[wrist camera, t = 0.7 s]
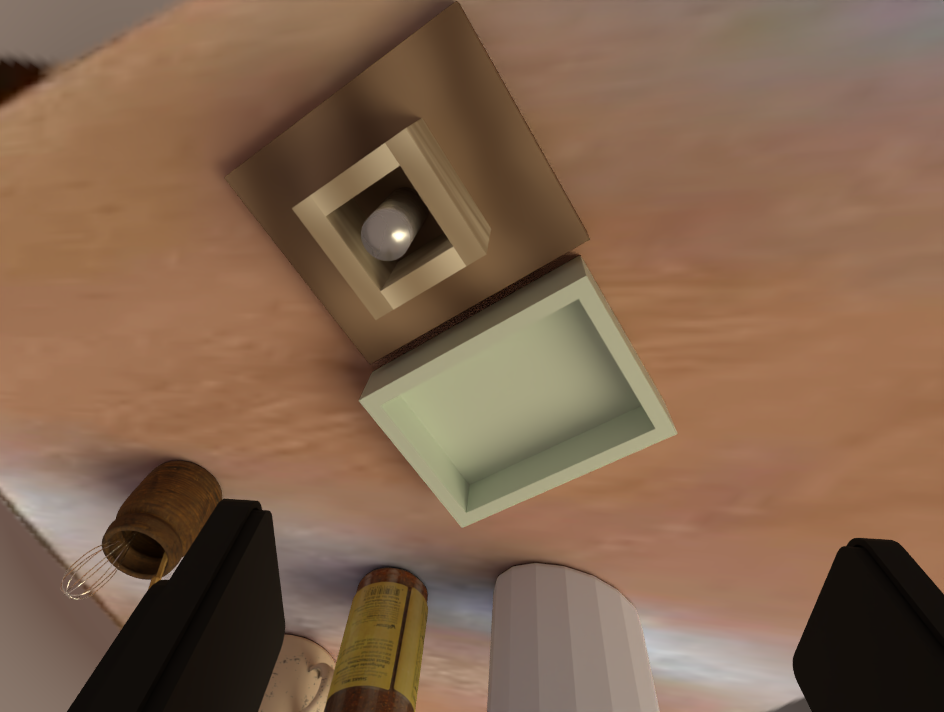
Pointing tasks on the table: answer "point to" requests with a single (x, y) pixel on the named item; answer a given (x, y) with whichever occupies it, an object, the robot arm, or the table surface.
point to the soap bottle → (565, 645)
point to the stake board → (466, 147)
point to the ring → (342, 219)
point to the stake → (394, 224)
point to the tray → (519, 397)
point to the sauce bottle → (381, 645)
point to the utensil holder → (158, 522)
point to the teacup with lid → (299, 678)
